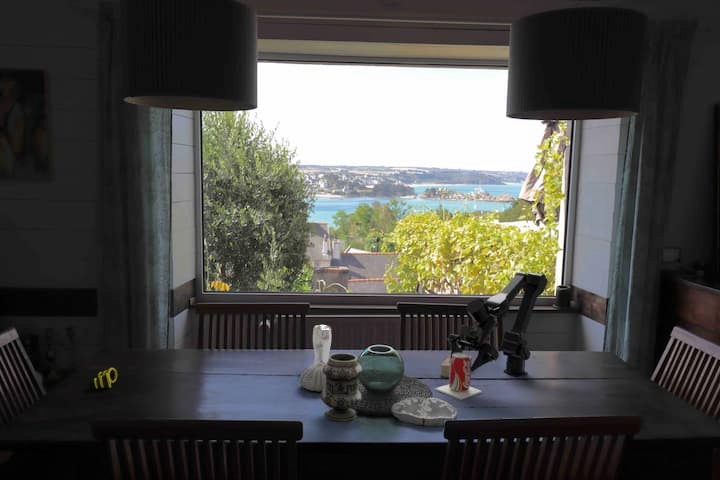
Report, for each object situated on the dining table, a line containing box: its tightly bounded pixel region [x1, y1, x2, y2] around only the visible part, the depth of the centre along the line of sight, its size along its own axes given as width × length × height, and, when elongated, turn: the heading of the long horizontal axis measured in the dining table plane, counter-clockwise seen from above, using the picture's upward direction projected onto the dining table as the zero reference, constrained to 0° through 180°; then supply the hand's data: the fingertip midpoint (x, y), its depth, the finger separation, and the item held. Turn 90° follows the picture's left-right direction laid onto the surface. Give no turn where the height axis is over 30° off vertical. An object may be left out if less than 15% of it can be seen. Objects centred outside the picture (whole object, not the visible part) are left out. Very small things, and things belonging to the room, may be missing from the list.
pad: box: [434, 383, 483, 401], centre depth 195 cm, size 11×11×1 cm
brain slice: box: [391, 396, 458, 427], centre depth 173 cm, size 20×17×3 cm
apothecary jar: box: [320, 352, 363, 422], centre depth 172 cm, size 12×12×18 cm
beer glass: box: [312, 324, 332, 364], centre depth 217 cm, size 7×7×15 cm
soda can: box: [448, 352, 472, 392], centre depth 194 cm, size 7×7×12 cm
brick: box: [439, 353, 473, 378], centre depth 216 cm, size 16×8×5 cm, turn 156°
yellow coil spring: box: [93, 367, 118, 390], centre depth 193 cm, size 10×5×5 cm, turn 10°
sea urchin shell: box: [299, 363, 326, 392], centre depth 195 cm, size 13×14×8 cm
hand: (460, 367), depth 194 cm, fingers open, 9 cm apart
